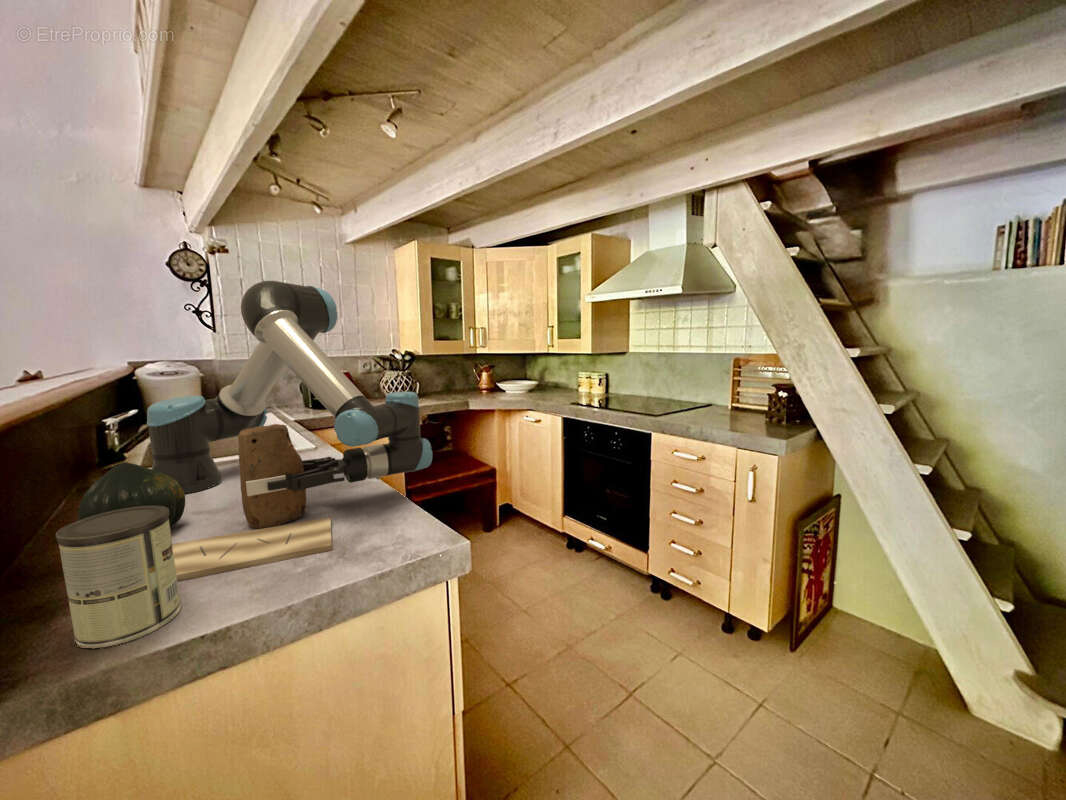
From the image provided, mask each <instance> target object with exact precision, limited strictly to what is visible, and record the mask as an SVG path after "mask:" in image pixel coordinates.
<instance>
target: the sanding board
mask: <svg viewBox="0 0 1066 800" xmlns="http://www.w3.org/2000/svg"><path fill="white" fill-rule="evenodd" d="M331 520H332V519H331V517H329V516H328V517H322V518H317V519H312V520H306V521H299V522H293V523H288V524H287V523H286V524H282V525H278V526H275V527H270V528H257V529H251V530H247V531H242V532H235V533H229V534H223V535H219V536H212V537H211V536H210V537H207V538H200V539H196V540H188V541H183V542H177V543H172V546H173V554H174V561H175V568H176V576H177V582H180V581H184V580H190V579H194V578H199V577H200V578H201V577H206V576H209V575H210V576H211V575H214V574H219V573H220V574H221V573H225V572H229V571H235V570H241V569H245V568H249V567H255V566H260V565H265V564H270V563H274V562H280V561H285V560H289V559H295V558H299V557H305V556H309V555H314V554H320V553H325V552H328V551H332V550H333V549H332V548H333V545H332V544H333V542H332V541H333V540H332V521H331Z"/></svg>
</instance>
